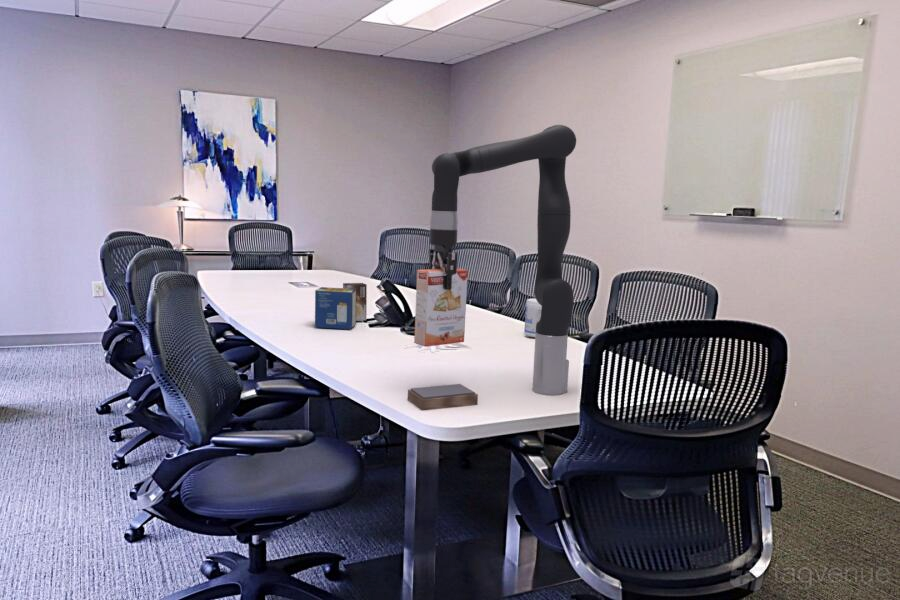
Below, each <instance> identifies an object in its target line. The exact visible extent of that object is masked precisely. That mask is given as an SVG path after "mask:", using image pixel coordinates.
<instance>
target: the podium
mask: <svg viewBox="0 0 900 600" xmlns="http://www.w3.org/2000/svg"><path fill="white" fill-rule="evenodd" d="M478 399H479V395H478V393H476V392H475V391H474V390H472V389H470V388H468V387H467V386H464V385H463V384H461V383H455V384H444V385H443V384H442V385H433V386H432V385H431V386H424V387H423V386H422V387H412V388H411V387H410V389H407V401H408V402H410V403H411V404H412V405H413V406H415V407H416V408H418V410H421V411H430V410H431V411H432V410H438V409H439V410H441V409H450V408H459V407H469V406H478V403H479V402H478V401H479V400H478Z"/></svg>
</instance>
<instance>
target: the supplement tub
mask: <svg viewBox="0 0 900 600" xmlns="http://www.w3.org/2000/svg"><path fill="white" fill-rule="evenodd" d="M525 303H526V304H525V314H524V317H525V318H524V331H523V332H524V335H525V336H527V337H532V338H535V334H536V324H537V322H539V320H540V318H541V309H542V306H541V305H540V304H539V303H538V302H537V300H536V298H528V299H526V302H525Z"/></svg>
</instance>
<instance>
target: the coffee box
mask: <svg viewBox="0 0 900 600" xmlns="http://www.w3.org/2000/svg"><path fill="white" fill-rule="evenodd" d="M367 287H368V286H367V284H366V283H364V282H342V288H353V289H356V322H358V321H367V315H368V314H367V298H368V297H367V294H368V292H367V290H368V289H367Z"/></svg>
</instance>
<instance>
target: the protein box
mask: <svg viewBox="0 0 900 600" xmlns="http://www.w3.org/2000/svg"><path fill="white" fill-rule="evenodd" d="M314 291H315V292H314V294H315V295H314V302H315V303H314V328H318V329H320V328H322V329H339V330H340V329H341V330H345V329H346V330H352V329H353V328H354V327H355V326H356V325H357V321H356V289H353V288H343V287H324V286H322V287H319V288H317V289H315V290H314Z"/></svg>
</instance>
